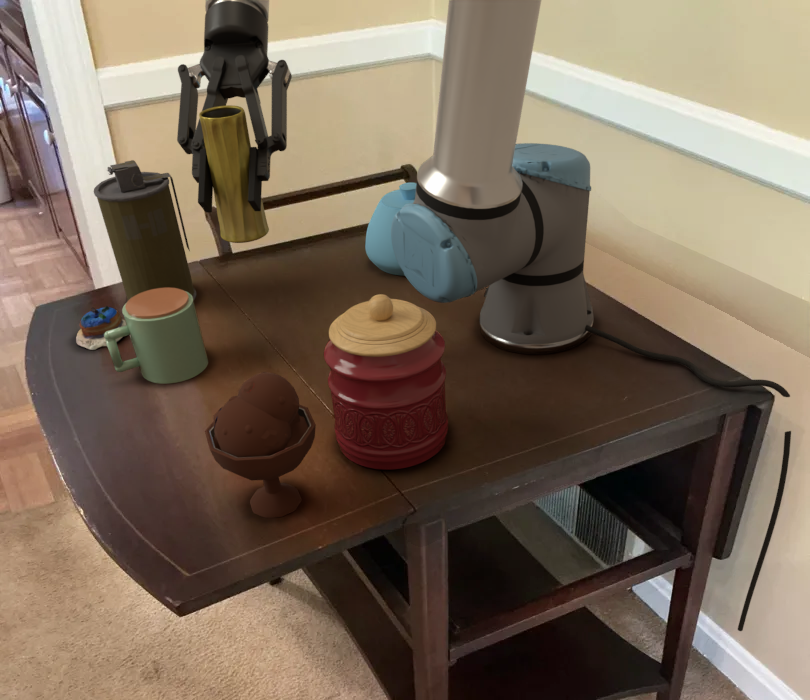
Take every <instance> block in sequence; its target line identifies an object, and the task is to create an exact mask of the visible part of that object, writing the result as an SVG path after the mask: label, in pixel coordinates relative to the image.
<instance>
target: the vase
mask: <svg viewBox="0 0 810 700" xmlns="http://www.w3.org/2000/svg"><path fill="white" fill-rule="evenodd" d="M198 116H199V117H198V118H200V122H201V126H202V132H203V137H204V143H205V148H206V153H207V158H208V163H209V168H210V173H211V178H212V184H213V195H214V202H215V208H216V214H217V215H216V216H217V220H218V224H219V233H220V235H219V236H220V238H221V240H223V241H225V242H229V243H234V244H244V243H251V242H254V241H257V240H260V239H263V238H264V237H265V236H267V234H269V232H270V227H269V224H268V220H267V215H266V211H265V207H264V203H263V199H262V196H261V211H254V209H253V208H252V206H251V205H250V204H249V202H248V185H249V159H250V147H252V145H251V140H250V133H249V127H248V123H247V116H246V111H245V108H243V107H241V106H238V105H232V104H231V105H227V104H226V106H217V107H212V108H209V109H206V110H203V111H202V110H201V111H200V112H199V114H198Z"/></svg>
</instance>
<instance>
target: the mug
mask: <svg viewBox="0 0 810 700" xmlns="http://www.w3.org/2000/svg"><path fill="white" fill-rule="evenodd" d="M121 312H122V316H123V320H125V322H126V326H123V327H119V328H116V329H112V330H109V331H106V332H105V333H104V337H105V340H106V343H107V346H106V347H107V349H108V353H109V356H110V359H111V361H112V364H113V367H114V370H115V371H116V373H123V372H126V371H129V370H133V369H136V368H139V370H140V374H141V376H142V377H143V378H144V379H145V380H146V381H148V382H151V383H154V384H163V385H164V384H167V385H169V384H177V383H181V382H185V381H188V380H191V379H192V378H195V377H197V376H198V375H200V374H201V373H203V372H204V371H205V370H206V368H207V367H208V365H209V357H208V353H207V348H206V344H205V340H204V337H203V333H202V329H201V325H200V321H199V317H198V313H197V309H196V305H195V300H193V297H192V295H191V294H190V293H188V292H186V291H184V290H181V289H178V288H157V289H151V290H148V291H144V292H142V293H139V294H137V295H135V296H134V297H132V298H131V299H129V300H128V299H127V301H126V303H124V305H123V307H122V309H121ZM127 336H129V338H130V342H131V345H132V348H133V351H134V355H135V357H134V358H130V359H126V360H123V359H122V355H121V352H120V349H119V346H118V342H116V340H115V339H117V338H120V337H122V338H123V337H127Z"/></svg>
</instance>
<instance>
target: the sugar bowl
mask: <svg viewBox="0 0 810 700" xmlns="http://www.w3.org/2000/svg"><path fill="white" fill-rule="evenodd" d="M416 184H417V182H413V181H411V182H404V183H402V184H400V185H399V186H398V188H399V189H394V190H391V191H389V192H387V193H386V194H384V195H383V196H382V197H381V199H380V200H379V201H378V203H377V205H376V207H375V209H374V211H373V213H372V215H371V217H370V220H369V221H368V225H367V229H366V234H365V244H364V247H365V253H366V256H367V258H368V259H369V261H371V263H373V264H374V265H375V267H377V268H378V269H379V270H381V271H382V272H384V273H387V274H390V275H394V276H404V277H406V276H405V275H404V273H403V270H402V269H401V267H400V266H399V264H398V262H397V259H396V256H395V253H394V250H393V246H392V239H391V226H392V221H393V218H394V216H395V214H396V213H397V212H398V211H400V210H401V209H402V207H403V206H404V205H406V204H409V203H413V202H414V200H415V194H416Z"/></svg>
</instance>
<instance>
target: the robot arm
mask: <svg viewBox="0 0 810 700" xmlns="http://www.w3.org/2000/svg"><path fill="white" fill-rule="evenodd" d="M541 4H542V0H448V5H447V15H446V24H445V36H444V46H443V53H442V55H443V56H442V64H441V74H440V85H439V92H438V93H439V95H438V103H437V114H436V122H435V123H436V124H435V133H434V142H433V154H432V155H431V156H430V157H429V158H427V159H426V160H425V161H423V162H422V163H421V164H420V165H419V167H418V170H417V174H416V183H417V184H416V194H415V200H414V202H413V203H409V204H406V205H404V206H403V207H402V209H401V210H400V211H398V212H397V213H396V214H395V216H394V218H393V221H392V226H391V239H392V246H393V250H394V253H395V256H396V259H397V262H398V264H399V266H400V267H401V269H402V270H403V273H404V275H405V276H404V277H405V278H406V279H407V281H408V282H409V283H410V284H411V286H412V287H413V288H414V289H415V290H416V291H417V292H419V294H421V295H422V296H423V297H425V298H427V299H428V300H431V301H433V302H436V303H439V304H446V303H447V304H449V303H453V302H455V301H458V300H460V299H463V298H468V297H471V296H472V295H475V293H477V292H479V291H481V290H483V289H485V288H486V289H485V292H484V295H483V298H485V299H484V301H483V302H484V303H483V305H482V307H481V309H480V312H479V331H480V334H481V336H482V337H483V339H485V340H486V341H487V342H488V343H490V344H491V345H493V346H495V347H496V348H500V349H501V350H505V351H509V352H513V353H518V354H526V355H542V354H543V355H544V354H545V355H547V354H551V353H552V354H554V353H558V352H563V351H567V350H569V349H572V348H576V347H577V346H579V345H580V344H582V343H584V342H585V341H586V340H587V339H589V337H590V336H591V334H592V335H595V336H598V337H601V338H603V339H605V340H608V341H610V342H612V343H614V344H616V345H619V346H621V347H623V348H625V349H627V350H628V351H630V352H633V353H636V354H637V355H640V356H644V357H646V358H650V359H654V360H659V361H665V362H671V363H676V364H680V365H682V366H684V367H686V368H687V369H689V370H691V371H692V372H693V373H694V374H695V375H696V376H697V377H698V378H699V379H700V380H701V381H703V382H705V383H707V384H710V385H712V386H716V387H720V388H744V387H758V386H759V387H767V388H770V389H773V390H774V391H775V392H778V394H780V396H782V397H783V398H790V397H791V394H790V393H789V392H788V390H787V389H786V388H785V387H783V386H782V385H781V384H779V383H777V382H775V381H771V380H768V379H744V380H730V381H729V380H719V379H716V378H712V377H710V376H709V375H707V374H705V373H704V372H703V371H702V370H701V369H700V368H699V367H698V366H697V365H696V364H695V363H693V362H691V361H690V360H687V359H685V358H682V357H679V356H675V355H670V354H664V353H657V352H652V351H649V350H647V349H646V350H645V349H643V348H641V347H638V346H636V345H633V344H632V343H629V342H627V341H625V340H623V339H621V338H619V337H617V336H615V335H612V334H610V333H608V332H605V331H602V330H600V329H598V328H595V327H594V320H595V319H594V318H595V317H594V310H593V306H592V301H591V298H590V293H589V291H588V286H587V282H586V278H585V273H584V269H585V268H584V265H585V255H586V241H587V230H588V218H589V217H588V216H589V205H590V204H589V203H590V195H591V194H590V193H591V191H592V186H591V163H590V160H589V159H588V158H587V156H586V155H585V154H584V153H583V152H581V151H579V150H576V149H574V148H572V147H567V146H563V145H559V144H558V145H556V144H551V143H538V142H537V143H534V142H523V143H521V142H520V143H517V140H518V134H519V128H520V124H521V118H522V112H523V107H524V100H525V94H526V88H527V83H528V78H529V73H530V67H531V61H532V55H533V50H534V45H535V44H534V43H535V38H536V32H537V27H538V21H539V15H540V11H541ZM204 7H205V8H204V9H205V12H206V13H205V15H204V29H203V30H204V32H203V54H202V56H201V57H200V59H199V63H197V64H195V65H192V66H190V67H187V66H188V65H186V64H184V63H182V64H181V63H180V65H178V67H177V72H178V73H177V74H178V77H179V79H180V80H179V81H180V83H181V85H180V98H179V110H178V123H177V137H176V141H177V143H178V144H179V146H180V147H181V148H182V151H184V152H185V154H186V155H192V156H191V157H192V158H191V175H192V178H193V179H194V181H195V182H196V183H197V184H198V189H197V203H198V205H199V206H200V207H201V208H202V210H203V211H204V212H205V213H207V214H208V213H213V198H214V197H213V195H214V190H213V184H212V178H211V173H210V168H209V163H208V158H207V153H206V148H205V143H204V137H203V132H202V126H201V122H200V117H197V116H198V107H199V106H198V104H199V91H198V89H200V88H201V80H202V78H203V77H204V76H205V78H206V80H207V81H208V84H207V85H206V97H205V100H204V103H203V106H202V108H201V109H202V110H201V112H202V111H203V110H206V109H209V108H212V107H217V106H227V104H228V100H229V99H233V98H236V97H237V98H243V99H245V102H246V107H247V110H248V114H249V118H250V123H251V127H252V131H253V134H254V138H255V139H254V141H255V144H256V146H251V147H250V159H249V185H248V202H249V204H250V205H251V206H252V208H253V209H254V211H261V197H262V192H263V191H262V187H263V182H268V181H269V180H270V178H271V160H272V159H271V157H272V155H273V154H274V153H275V152H278V151H279V152H285V151H286V149H287V146H288V145H287V144H288V141H287V139H288V138H287V137H288V90H289V86H290V83H291V81H292V77H293V76H292V72H291V70H290V68H289V65H288V63H287V61H286V60H284V59H279V60H278V61H277V62H275V61H273V60H270V59H269V57H268V51H269V23H268V22H269V17H270V14H269V13H270V0H205V5H204ZM267 76H269V78H270V80H271V121H270V122H271V125H270V126H271V132H270V133H271V134H270V135H269V134H268V128H267V126H266V122H265V118H264V114H263V109H262V103H261V98H260V94H259V91H258V88H259V87H260V86H261V84H262V83H263V82H264V80H265V79H266V78H267ZM197 121H198V122H197ZM791 439H792V430H788V431H784V438H783V453H782V461H781V468H780V469H781V470H780V474H779V481H778V486H777V491H776V495H775V499H774V505H773V508H772V512H771V516H770V520H769V523H768V526H767V530H766V533H765V536H764V539H763V542H762V546H761V550H760V552H759V556H758V559H757V562H756V564H755V567H754V571H753V574H752V577H751V580H750V583H749V586H748V590H747V593H746V596H745V600H744V602H743V607H742V611H741V614H740V619H739V621H738V626H737V631H739V632H742V631H744V626H745V624H746V623H745V622H746V619H747V615H748V612H749V609H750V605H751V601H752V598H753V595H754V593H755V588H756V585H757V582H758V580H759V576H760V573H761V570H762V567H763V565H764V561H765V558H766V555H767V552H768V548H769V545H770V542H771V539H772V536H773V533H774V529H775V526H776V523H777V519H778V516H779V513H780V512H779V511H780V507H781V503H782V500H783V494H784V490H785V485H786V480H787V474H788V469H789V461H790V452H791Z"/></svg>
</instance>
